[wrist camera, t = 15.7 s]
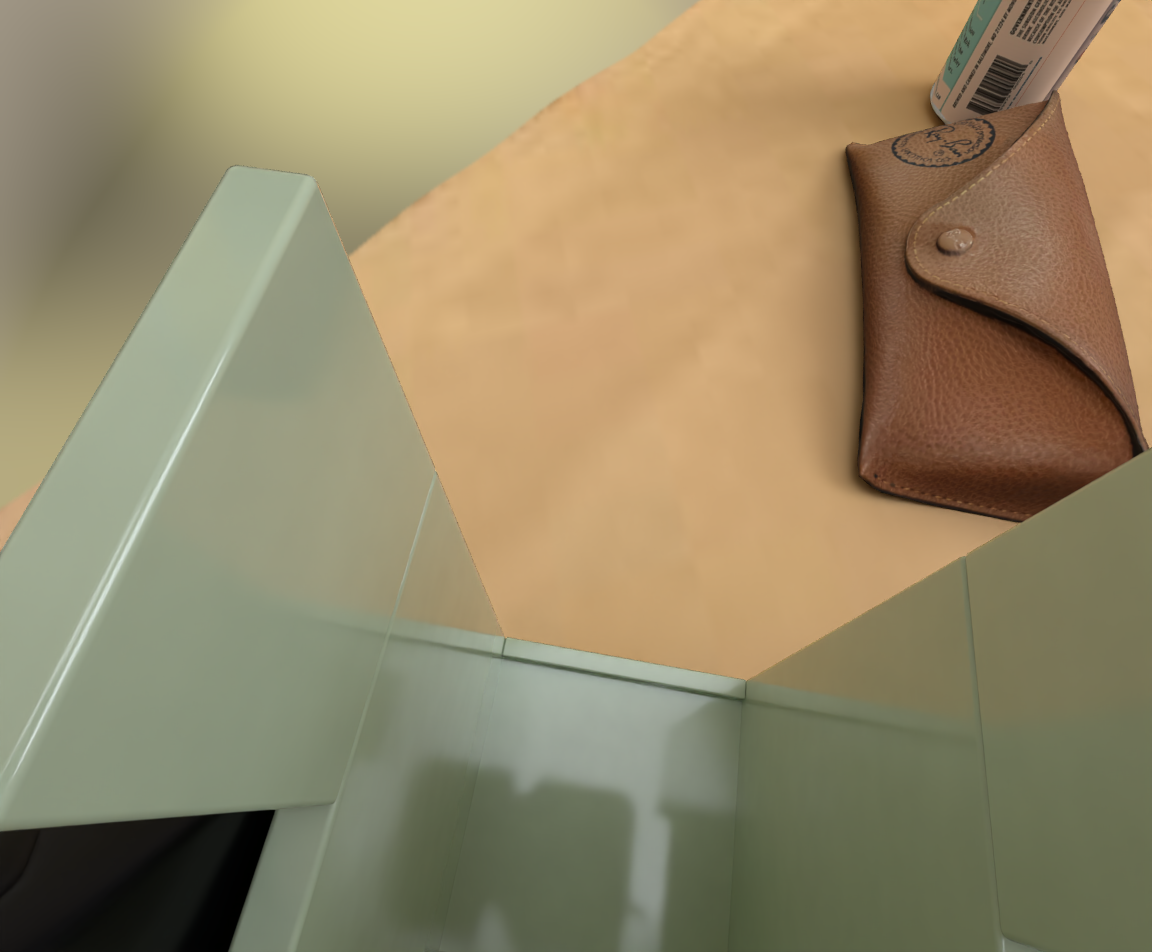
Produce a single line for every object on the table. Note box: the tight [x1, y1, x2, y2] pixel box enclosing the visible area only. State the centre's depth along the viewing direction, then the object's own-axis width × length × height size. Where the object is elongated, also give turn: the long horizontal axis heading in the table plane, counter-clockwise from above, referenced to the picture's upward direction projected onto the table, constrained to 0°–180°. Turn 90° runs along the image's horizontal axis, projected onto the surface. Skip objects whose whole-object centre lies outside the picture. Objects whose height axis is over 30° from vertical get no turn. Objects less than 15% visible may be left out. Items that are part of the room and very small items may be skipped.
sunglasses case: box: [846, 90, 1149, 522], centre depth 24 cm, size 18×7×7 cm
